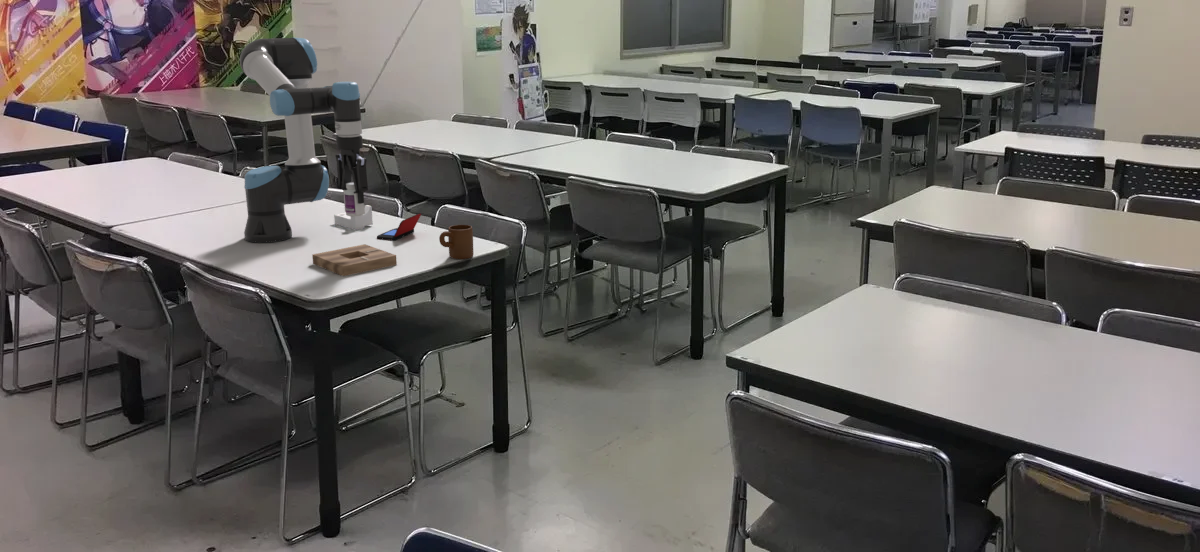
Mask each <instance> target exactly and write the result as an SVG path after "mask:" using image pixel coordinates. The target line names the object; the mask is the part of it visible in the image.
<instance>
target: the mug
mask: <svg viewBox="0 0 1200 552" xmlns="http://www.w3.org/2000/svg"><path fill="white" fill-rule="evenodd" d="M447 229H448V230H445V231H442V232H441V233H440V235H439V243H440V245H441V246H442V247H443V248H448V255H449V257H450V258H451V259H454V260H466V259H471V258H472V257H474V232H473V226H472V225H468V224H455V225H450V226H448V228H447ZM445 237H447V238H448V241H446V239H445Z"/></svg>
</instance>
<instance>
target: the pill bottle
mask: <svg viewBox="0 0 1200 552" xmlns="http://www.w3.org/2000/svg"><path fill="white" fill-rule="evenodd" d="M346 188H347V190H346V191H345V193H344V194H343V196H344V195H345V205H344V209H345V208H346V212H345V213H346V215H347V216H361V215H363V214H358V215H356V213H355V200H354V192H355V186H354V182H352V181H351V183H347V184H346Z"/></svg>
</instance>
